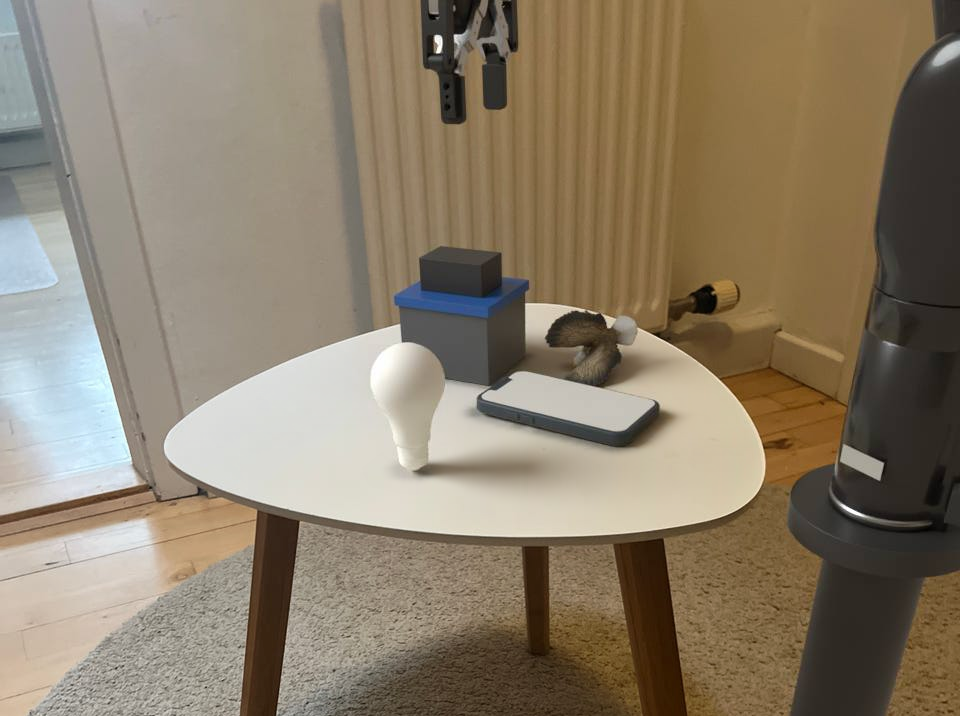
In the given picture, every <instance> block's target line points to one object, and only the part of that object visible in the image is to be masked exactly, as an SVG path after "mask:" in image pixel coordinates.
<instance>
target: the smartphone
mask: <svg viewBox="0 0 960 716" xmlns="http://www.w3.org/2000/svg"><path fill="white" fill-rule="evenodd" d="M660 409H661V405H660V403H659V401H657V400H654V399H652V398H648V397H643V396H639V395H634V394H630V393H626V392H621V391H618V390H617V391H616V390H612V389H608V388H603V387H599V386H596V385H592V386H590V385H586V384H581V383H577V382H573V381H568V380H564V379H563V378H559V377H554V376H550V375H545V374H541V373H536V372H532V371H528V370H516V371H513V372H510V373H509V374H508V375H507V376H505V377H503V378H502V379H501V380H499V381H497V382H496V383H495V384H493V385H491V386H490V387H489V388H486V389H485V390H484V391H482V392H480V393H479V394H478V395H477V396H476V410H477V411H478V412H479V413H482V414H484V415H489V416H493V417H497V418H500V419H505V420H509V421H512V422H517V423H519V424H525V425H529V426H533V427H536V428H541V429H545V430H548V431H552V432H556V433H560V434H564V435H567V436H568V435H569V436H572V437H577V438H580V439H584V440H588V441H592V442H596V443H600V444H604V445H608V446H611V447H623V446H626V445H629V444H630V443H631V442H632V441H634V439H636V438H637V437H638V436H639V435H640V434H641V433H643V431H645V430H646V429H647V428H648V427H649V426H650V425H652V423H654V422H655V421H656V420H657V419H658V418H659V417H660Z"/></svg>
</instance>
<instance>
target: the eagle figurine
mask: <svg viewBox="0 0 960 716" xmlns="http://www.w3.org/2000/svg"><path fill="white" fill-rule="evenodd" d="M638 331H639V330H638V323H637V322H636V320H635V319H633V318H632V317H630V316H628V315H623V314H620V315H618V316H617V317H616V319H615V321H614V322H613V323H612V325H611V327H608V323H607V321H606V318H605V316H604V315H603V314H602V313H601V312H598V313H592V312H589V311H588V310H587V309H585V310H584V311H580V310H578V309H577V310H576V309H575V310H571V311H570V312H569V311H568V312H567V313H564V314H563V315H561V316H559V317H558V318H556V319H554V321H553V322H552V323H551V325H550V327H549V328H548V329H547V333H546V335H545V336H544V340H545V344H548V347H549V348H551V349H558V348H559V349H560V348H565V349H567V348H568V349H572V348H573V349H574V348H577V347H582V348H581V349H580V351H578V353H577V354H576V355H575V357H574V358H573V363H572V365H571V367H573V369H572V370H571V371H570V372H569V373H568V374H566V375H564V376H563V377H562V379H564V380H568V381H573V382H577V383H581V384H586V385H590V386H598V385H600V384H602V383H603V382H605V381H606V380H607V379H608V378H609V376H610V374H611V373H612V372H613V369H615V367H616V366H617V365H619V364H620V363H621V362H622V361H621V360H622V357H623V356H622V352H620V349H619V345H622V346H625V347H629V346H632V345H633V344H634V343H635V341H636V337H637V335H638Z"/></svg>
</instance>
